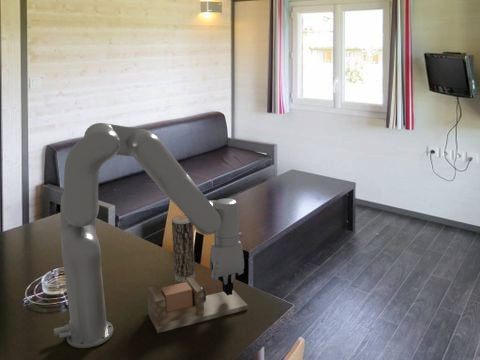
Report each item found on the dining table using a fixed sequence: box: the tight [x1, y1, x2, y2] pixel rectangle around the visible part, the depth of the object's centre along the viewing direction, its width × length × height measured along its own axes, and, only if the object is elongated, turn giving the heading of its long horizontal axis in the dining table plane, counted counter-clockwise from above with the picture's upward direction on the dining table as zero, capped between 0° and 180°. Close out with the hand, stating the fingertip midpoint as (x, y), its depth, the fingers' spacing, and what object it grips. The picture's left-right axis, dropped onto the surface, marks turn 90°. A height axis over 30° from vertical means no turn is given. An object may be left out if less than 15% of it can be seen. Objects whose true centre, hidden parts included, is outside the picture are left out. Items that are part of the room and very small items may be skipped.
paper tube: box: [171, 214, 196, 285], centre depth 151 cm, size 7×7×25 cm
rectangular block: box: [160, 282, 193, 313], centre depth 136 cm, size 8×5×8 cm, turn 115°
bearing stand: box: [146, 278, 248, 334], centre depth 139 cm, size 28×11×10 cm, turn 115°
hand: (228, 293), depth 143 cm, fingers closed
